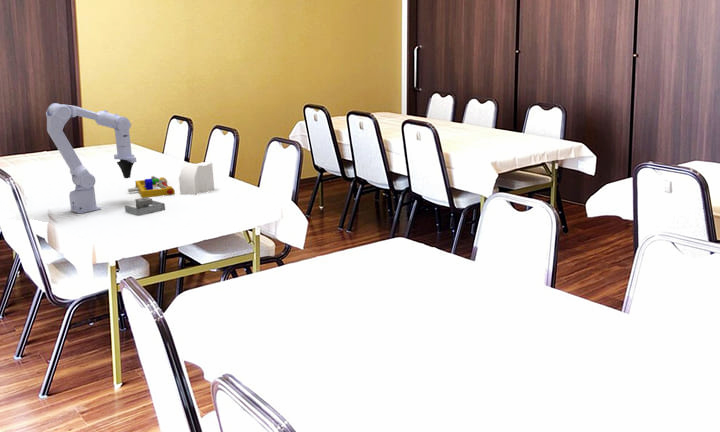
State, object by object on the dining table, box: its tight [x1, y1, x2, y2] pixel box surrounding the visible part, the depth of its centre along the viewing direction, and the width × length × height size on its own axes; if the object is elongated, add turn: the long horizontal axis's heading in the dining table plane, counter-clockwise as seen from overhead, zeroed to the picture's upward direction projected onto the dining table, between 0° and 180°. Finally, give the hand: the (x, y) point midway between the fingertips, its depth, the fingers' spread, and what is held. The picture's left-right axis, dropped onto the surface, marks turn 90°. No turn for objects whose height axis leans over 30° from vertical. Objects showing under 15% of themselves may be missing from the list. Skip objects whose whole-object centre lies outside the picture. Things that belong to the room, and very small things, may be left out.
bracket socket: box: [124, 199, 166, 216], centre depth 311 cm, size 12×11×3 cm
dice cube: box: [134, 197, 153, 209], centre depth 310 cm, size 5×5×5 cm
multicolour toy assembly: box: [127, 175, 175, 198], centre depth 348 cm, size 18×6×30 cm
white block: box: [178, 161, 215, 195], centre depth 341 cm, size 11×11×12 cm
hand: (127, 177), depth 325 cm, fingers closed
